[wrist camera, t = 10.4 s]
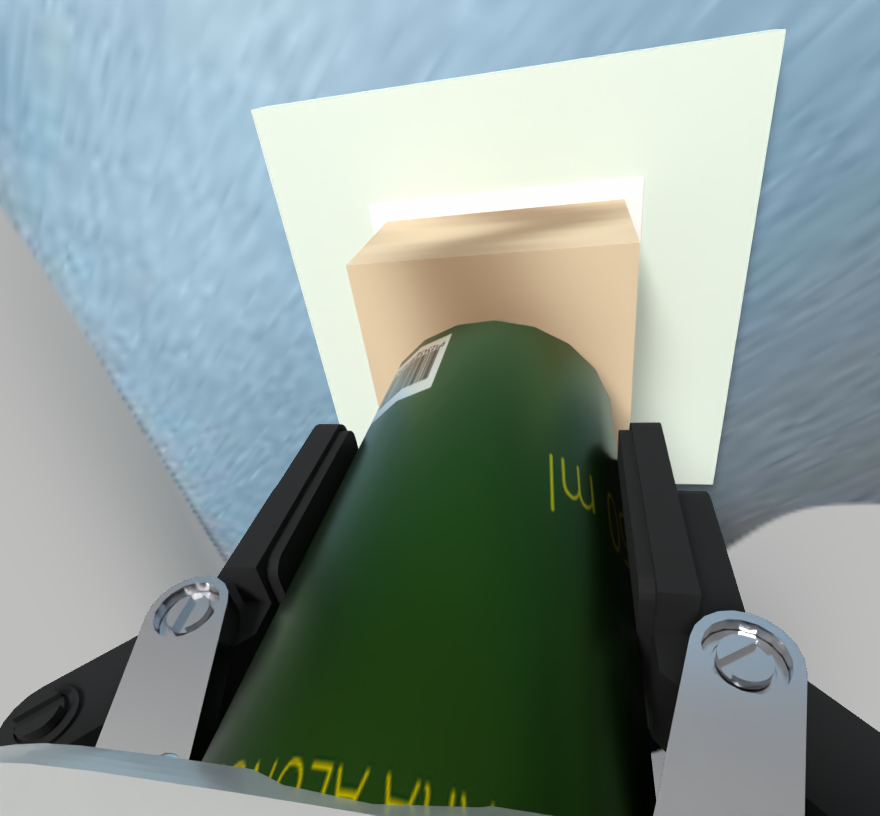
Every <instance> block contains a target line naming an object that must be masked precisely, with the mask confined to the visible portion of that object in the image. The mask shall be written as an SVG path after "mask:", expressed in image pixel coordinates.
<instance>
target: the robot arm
mask: <svg viewBox="0 0 880 816" xmlns="http://www.w3.org/2000/svg"><path fill="white" fill-rule="evenodd" d="M357 451H358V445H357V441H356V438H355V435H354V433H353V431H347V428H346V427H345V426H344V425H343V424H319V425H316V426H315V428H314V429H313V430H312V432H311V434H310V435H309V437H308V438H307V440H306V441H305V443H304V445H303V446H302V448H301V449H300V451H299V452H298V454H297V455H296V457H295V459H294V460H293V462H292V463H291V465H290V466H289V468H288V470H287V471H286V473H285V474H284V476H283V477H282V479H281V481H280V482H279V484H278V485H277V486H276V488H275V489H274V490H273V491H272V493H271V495H270V496H269V498H268V499H267V501H266V502H265V504H264V505H263V507H262V509H261V510H260V512H259V513H258V515H257V516H256V518H255V519H254V521H253V523H252V524H251V526H250V527H249V529H248V530H247V532H246V534H245V535H244V537H243V538H242V540H241V541H240V543H239V544H238V546H237V548H236V549H235V551H234V552H233V554H232V555H231V557H230V558H229V560H228V562H227V563H226V565H225V566H224V568H223V569H222V571H221V572H220V574H219V576H218V577H217V578H215V577H211V576H201V577H195V578H191V579H188V580H184V581H183V582H181V583H179V584H177V585H175V586H173V587H171V588H170V589H169V590H167V591H166V592H165V593H163V594H162V595H161V596H160V597H159V598H158V599H157V600H156V602H155V603H154V604H153V605H152V606H151V608H150V609H149V611H148V613H147V615H146V617H145V619H144V622H143V625H142V627H141V630H140V632H139V635H138V636H136V637H134V638H132V639H131V640H129V641H127V642H125V643H124V644H121V645H120V646H118V647H116V648H114V649H112V650H110V651H108V652H107V653H105V654H103V655H101V656H99V657H97V658H96V659H94V660H92V661H90V662H88V663H86V664H84V665H83V666H81V667H79V668H77V669H75V670H73V671H72V672H70V673H68V674H66V675H64V676H62V677H60V678H59V679H57V680H55V681H53V682H51V683H49V684H48V685H46V686H44V687H42V688H41V689H39V690H38V691H36V692H34V693H33V694H31V695H30V696H28V697H27V698H26V699H25V700H24V701H23V702H22V703H20V705H18V706H17V707H16V708H15V709H14V710H13V712H12V713H11V714H10V715H9V716H8V717H7V719H6V720H5V721H4V722H3V724H2V726H1V728H0V816H551V815H545V814H538V813H532V812H526V811H520V810H513V809H507V808H501V807H494V806H488V807H479V808H478V807H452V806H421V805H386V804H370V803H365V802H360V801H356V800H351V799H346V798H342V797H337V796H332V795H328V794H323V793H318V792H314V791H309V790H305V789H300V788H295V787H291V786H286V785H282V784H281V783H279V782H277V781H275V780H273V779H271V778H269V777H267V776H265V775H263V774H261V773H259V772H257V771H255V770H253V769H247V768H240V767H234V766H227V765H220V764H213V763H206V762H201V761H202V760H203V758H204V756H205V754H206V752H207V750H208V748H209V746H210V744H211V742H212V740H213V738H214V736H215V734H216V732H217V730H218V728H219V726H220V724H221V722H222V720H223V718H224V716H225V714H226V712H227V710H228V708H229V706H230V704H231V702H232V700H233V698H234V696H235V694H236V692H237V690H238V688H239V686H240V684H241V682H242V680H243V678H244V676H245V674H246V672H247V670H248V668H249V666H250V664H251V662H252V660H253V658H254V656H255V654H256V652H257V650H258V648H259V646H260V644H261V642H262V640H263V638H264V636H265V634H266V632H267V630H268V628H269V626H270V624H271V622H272V620H273V618H274V616H275V614H276V612H277V610H278V608H279V606H280V604H281V602H282V600H283V598H284V596H285V594H286V592H287V590H288V588H289V586H290V584H291V582H292V580H293V578H294V576H295V574H296V572H297V570H298V568H299V566H300V564H301V562H302V560H303V558H304V556H305V554H306V552H307V550H308V548H309V546H310V544H311V542H312V540H313V538H314V536H315V534H316V532H317V530H318V528H319V526H320V524H321V522H322V520H323V518H324V516H325V514H326V513H327V511H328V509H329V507H330V505H331V503H332V501H333V499H334V497H335V495H336V493H337V491H338V489H339V487H340V485H341V483H342V481H343V479H344V477H345V475H346V473H347V471H348V469H349V467H350V465H351V463H352V461H353V459H354V457H355V455H356V453H357ZM617 462H618V471H619V480H620V489H621V498H622V506H623V515H624V524H625V533H626V542H627V551H628V560H629V569H630V577H631V586H632V595H633V604H634V613H635V622H636V631H637V637H638V646H639V655H640V664H641V672H642V681H643V690H644V699H645V707H646V716H647V725H648V729H650V732H651V738H652V739H653V740H654V741H655V742H656V743H657V744H658V745H659V746H660V747H661V748H662V749H663V750H664V751H665V752H666V756H665V761H664V766H663V771H662V775H661V780H660V786H659V790H658V795H657V800H656V805H655V810H654V815H653V816H880V732H878V731H877V730H875V729H874V728H873V727H871V726H870V725H869V724H867V723H866V722H864V721H863V720H862V719H860V718H859V717H857V716H856V715H854V714H853V713H852V712H850V711H849V710H847V709H846V708H844V707H843V706H842V705H841V704H839V703H838V702H836V701H835V700H833V699H832V698H831V697H829V696H828V695H826V694H825V693H824V692H822V691H821V690H819V689H818V688H817V687H815V686H814V685H812V684H811V683H809V682H808V681H807V669H806V664H805V659H804V657H803V655H802V654H801V652H800V650H799V648H798V646H797V645H796V644H795V643H794V641H793V640H791V638H790V637H789V636H788V635H787V634H786V633H785V632H784V631H783V630H781V629H780V628H778V627H777V626H775V625H774V624H772V623H771V622H769V621H768V620H765V619H763V618H760V617H758V616H755V615H753V614H750V613H745V610H744V606H743V603H742V600H741V596H740V593H739V590H738V587H737V584H736V580H735V577H734V574H733V570H732V567H731V563H730V560H729V557H728V554H727V550H726V547H725V544H724V540H723V537H722V534H721V530H720V527H719V524H718V521H717V517H716V514H715V511H714V507H713V504H712V501H711V498H710V496H709V494H708V493H707V492H704V491H677V489H676V484H675V480H674V476H673V472H672V467H671V463H670V459H669V455H668V450H667V446H666V442H665V438H664V433H663V429H662V425H661V423H660V422H641V423H630V426H629V430H619V433H618V454H617Z"/></svg>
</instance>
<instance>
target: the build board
mask: <svg viewBox="0 0 880 816" xmlns="http://www.w3.org/2000/svg"><path fill="white" fill-rule="evenodd" d="M785 33H786V29H772V30H765V31H759V32H752V33H745V34H739V35H732V36H726V37H719V38H713V39H706V40H699V41H693V42H686V43H680V44H673V45H666V46H660V47H653V48H647V49H640V50H634V51H627V52H620V53H614V54H607V55H601V56H594V57H587V58H581V59H574V60H568V61H561V62H555V63H548V64H541V65H535V66H528V67H522V68H515V69H508V70H502V71H495V72H489V73H482V74H476V75H469V76H462V77H456V78H449V79H443V80H436V81H429V82H423V83H416V84H410V85H403V86H397V87H390V88H383V89H377V90H370V91H364V92H357V93H350V94H344V95H337V96H331V97H324V98H318V99H311V100H304V101H298V102H291V103H285V104H278V105H271V106H265V107H261V108H257V109H253V110H251V112H252V115H253V119H254V122H255V126H256V129H257V133H258V136H259V140H260V144H261V147H262V151H263V154H264V158H265V161H266V165H267V168H268V172H269V175H270V179H271V183H272V186H273V190H274V193H275V197H276V200H277V204H278V207H279V211H280V214H281V218H282V221H283V225H284V229H285V232H286V236H287V239H288V243H289V246H290V250H291V253H292V257H293V260H294V264H295V268H296V271H297V275H298V278H299V282H300V285H301V289H302V292H303V296H304V299H305V303H306V306H307V310H308V314H309V317H310V321H311V324H312V328H313V331H314V335H315V338H316V342H317V345H318V349H319V353H320V356H321V360H322V363H323V367H324V370H325V374H326V377H327V381H328V384H329V388H330V391H331V395H332V399H333V402H334V406H335V409H336V413H337V416H338V420H339V423H340V424H343V425H344V426H345V427H346V428H347V431H353V433H354V435H355V438H356V441H357V445H358V449H359V447H360V445H361V443H362V441H363V439H364V437H365V435H366V433H367V431H368V429H369V427H370V425H371V423H372V421H373V419H374V417H375V415H376V413H377V411H378V409H379V406H378V401H377V397H376V393H375V389H374V384H373V380H372V376H371V371H370V367H369V363H368V358H367V354H366V350H365V345H364V341H363V337H362V333H361V328H360V324H359V320H358V315H357V311H356V307H355V302H354V298H353V294H352V290H351V285H350V281H349V277H348V272H347V268H346V265H347V264H348V263H349V262H350V261H351V259H352V258H353V257H354V256H355V255H356V254H357V253H358V252H359V251H360V250H361V249H362V248H363V247H364V246H365V245H366V243H367V242H368V241H369V240H370V239H371V238H372V237H373V236H374V235H375V234H376V233H377V232H378V231H379V230H380V229H381V228H382V226H383V225H384V224H385V223H386V222H387V221H398V220H408V219H419V218H429V217H440V216H450V215H461V214H471V213H482V212H492V211H503V210H513V209H524V208H535V207H545V206H556V205H566V204H577V203H587V202H598V201H608V200H619V199H624V200H625V202H626V205H627V208H628V211H629V214H630V216H631V219H632V222H633V225H634V228H635V230H636V233H637V236H638V239H639V241H640V250H639V269H638V287H637V306H636V324H635V343H634V361H633V380H632V399H631V417H630V423H641V422H660V423H661V425H662V429H663V433H664V438H665V442H666V446H667V450H668V455H669V459H670V463H671V467H672V472H673V476H674V480H675V484H713V480H714V474H715V468H716V462H717V455H718V449H719V443H720V437H721V431H722V424H723V418H724V412H725V406H726V399H727V393H728V387H729V381H730V375H731V368H732V362H733V356H734V350H735V344H736V337H737V331H738V325H739V319H740V313H741V306H742V300H743V294H744V288H745V281H746V275H747V269H748V263H749V257H750V250H751V244H752V238H753V232H754V226H755V219H756V213H757V207H758V201H759V195H760V188H761V182H762V176H763V170H764V164H765V157H766V151H767V145H768V139H769V132H770V126H771V120H772V114H773V108H774V101H775V95H776V89H777V83H778V77H779V70H780V64H781V58H782V52H783V46H784V39H785Z"/></svg>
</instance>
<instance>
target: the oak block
mask: <svg viewBox="0 0 880 816" xmlns="http://www.w3.org/2000/svg"><path fill="white" fill-rule="evenodd" d="M639 250H640V241H639V239H638V236H637V233H636V230H635V228H634V225H633V222H632V219H631V216H630V214H629V211H628V208H627V205H626V202H625V200H624V199H619V200H608V201H598V202H587V203H577V204H566V205H556V206H545V207H535V208H524V209H513V210H503V211H492V212H482V213H471V214H461V215H450V216H440V217H429V218H419V219H408V220H398V221H387V222H386V223H385V224H384V225H383V226H382V228H381V229H380V230H379V231H378V232H377V233H376V234H375V235H374V236H373V237H372V238H371V239H370V240H369V241H368V242H367V243H366V245H365V246H364V247H363V248H362V249H361V250H360V251H359V252H358V253H357V254H356V255H355V256H354V257H353V258H352V259H351V261H350V262H349V263H348V264H347V265H346V268H347V272H348V277H349V281H350V285H351V290H352V294H353V298H354V302H355V307H356V311H357V315H358V320H359V324H360V328H361V333H362V337H363V341H364V345H365V350H366V354H367V358H368V363H369V367H370V371H371V376H372V380H373V384H374V389H375V393H376V397H377V401H378V406H379V407H380V405H381V403H382V401H383V399H384V397H385V395H386V393H387V391H388V389H389V387H390V385H391V383H392V381H393V379H394V377H395V375H396V373H397V371H398V369H399V367H400V365H401V363H402V362H403V361H404V360H405V359H406V358H407V357H408V356H409V355H410V354H411V353H412V352H413V351H414V350H415V349H416V348H417V347H418V346H419V345H420V344H421V343H422V342H423V341H424V340H426V339H428V338H430V337H432V336H434V335H437V334H439V333H441V332H443V331H445V330H447V329H450V328H452V327H454V326H456V325H460V324H465V323H472V322H480V321H488V320H496V319H501V320H507V321H513V322H519V323H525V324H531V325H533V326H535V327H537V328H539V329H541V330H543V331H545V332H548V333H550V334H552V335H554V336H556V337H558V338H560V339H562V340H563V341H565V342H567V343H569V344H570V345H571V346H572V347H573V348H574V349H575V350H576V351H577V352H578V353H579V354H580V355H581V356H582V357H583V358H584V359H586V360H587V361H588V362H589V363H590V364H591V365H592V366H593V367H594V368H595V369H596V371H597V373H598V375H599V377H600V379H601V381H602V383H603V385H604V387H605V389H606V391H607V393H608V395H609V398H610V401H611V410H612V418H613V427H614V436H615V445H616V453H617V454H618V433H619V430H629V426H630V417H631V399H632V380H633V361H634V343H635V324H636V306H637V287H638V269H639Z"/></svg>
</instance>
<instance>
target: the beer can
mask: <svg viewBox="0 0 880 816" xmlns="http://www.w3.org/2000/svg"><path fill="white" fill-rule="evenodd" d="M201 762H206V763H213V764H220V765H227V766H234V767H240V768H247V769H253V770H255V771H257V772H259V773H261V774H263V775H265V776H267V777H269V778H271V779H273V780H275V781H277V782H279V783H281V784H282V785H286V786H291V787H295V788H300V789H305V790H309V791H314V792H318V793H323V794H328V795H332V796H337V797H342V798H346V799H351V800H356V801H360V802H365V803H370V804H386V805H421V806H452V807H478V808H479V807H488V806H494V807H501V808H507V809H513V810H520V811H526V812H532V813H538V814H545V815H551V816H653V815H654V810H655V805H656V795H655V787H654V778H653V769H652V760H651V751H650V742H649V734H648V725H647V716H646V707H645V699H644V690H643V681H642V672H641V664H640V655H639V646H638V637H637V631H636V622H635V613H634V604H633V595H632V586H631V577H630V569H629V560H628V551H627V542H626V533H625V524H624V515H623V506H622V498H621V489H620V480H619V471H618V462H617V453H616V445H615V436H614V427H613V418H612V410H611V401H610V398H609V395H608V393H607V391H606V389H605V387H604V385H603V383H602V381H601V379H600V377H599V375H598V373H597V371H596V369H595V368H594V367H593V366H592V365H591V364H590V363H589V362H588V361H587V360H586V359H584V358H583V357H582V356H581V355H580V354H579V353H578V352H577V351H576V350H575V349H574V348H573V347H572V346H571V345H570V344H569V343H567V342H565V341H563V340H562V339H560V338H558V337H556V336H554V335H552V334H550V333H548V332H545V331H543V330H541V329H539V328H537V327H535V326H533V325H531V324H525V323H519V322H513V321H507V320H501V319H496V320H488V321H480V322H472V323H465V324H460V325H456V326H454V327H452V328H450V329H447V330H445V331H443V332H441V333H439V334H437V335H434V336H432V337H430V338H428V339H426V340H424V341H423V342H422V343H421V344H420V345H419V346H418V347H417V348H416V349H415V350H414V351H413V352H412V353H411V354H410V355H409V356H408V357H407V358H406V359H405V360H404V361H403V362H402V363H401V365H400V367H399V369H398V371H397V373H396V375H395V377H394V379H393V381H392V383H391V385H390V387H389V389H388V391H387V393H386V395H385V397H384V399H383V401H382V403H381V405H380V407H379V409H378V411H377V413H376V415H375V417H374V419H373V421H372V423H371V425H370V427H369V429H368V431H367V433H366V435H365V437H364V439H363V441H362V443H361V445H360V447H359V449H358V451H357V453H356V455H355V457H354V459H353V461H352V463H351V465H350V467H349V469H348V471H347V473H346V475H345V477H344V479H343V481H342V483H341V485H340V487H339V489H338V491H337V493H336V495H335V497H334V499H333V501H332V503H331V505H330V507H329V509H328V511H327V513H326V514H325V516H324V518H323V520H322V522H321V524H320V526H319V528H318V530H317V532H316V534H315V536H314V538H313V540H312V542H311V544H310V546H309V548H308V550H307V552H306V554H305V556H304V558H303V560H302V562H301V564H300V566H299V568H298V570H297V572H296V574H295V576H294V578H293V580H292V582H291V584H290V586H289V588H288V590H287V592H286V594H285V596H284V598H283V600H282V602H281V604H280V606H279V608H278V610H277V612H276V614H275V616H274V618H273V620H272V622H271V624H270V626H269V628H268V630H267V632H266V634H265V636H264V638H263V640H262V642H261V644H260V646H259V648H258V650H257V652H256V654H255V656H254V658H253V660H252V662H251V664H250V666H249V668H248V670H247V672H246V674H245V676H244V678H243V680H242V682H241V684H240V686H239V688H238V690H237V692H236V694H235V696H234V698H233V700H232V702H231V704H230V706H229V708H228V710H227V712H226V714H225V716H224V718H223V720H222V722H221V724H220V726H219V728H218V730H217V732H216V734H215V736H214V738H213V740H212V742H211V744H210V746H209V748H208V750H207V752H206V754H205V756H204V758H203V760H202V761H201Z"/></svg>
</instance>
